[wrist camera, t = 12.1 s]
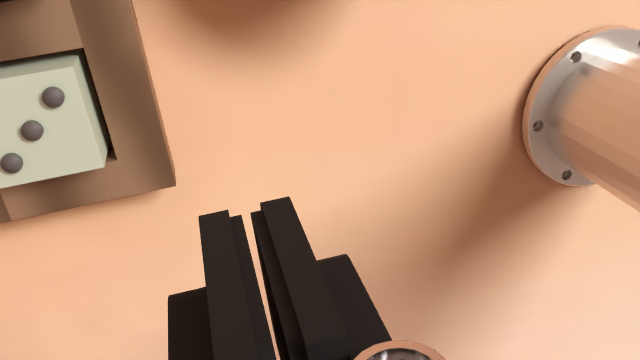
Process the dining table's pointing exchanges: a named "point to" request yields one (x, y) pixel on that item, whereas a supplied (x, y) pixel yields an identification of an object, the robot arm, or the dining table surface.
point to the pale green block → (49, 119)
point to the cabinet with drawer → (114, 95)
